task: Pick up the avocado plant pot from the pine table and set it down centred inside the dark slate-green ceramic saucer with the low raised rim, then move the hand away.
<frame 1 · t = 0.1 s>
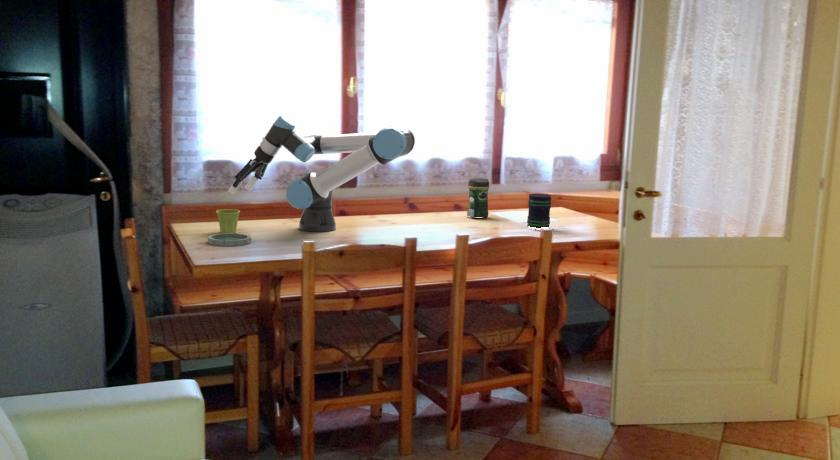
hand: (239, 191, 330), 15 cm above the table, tool tilted 35°, fingers open, 13 cm apart
storage jar: (538, 229, 356), on the table
saucer: (229, 242, 304), on the table
plant pot: (228, 233, 323), on the table
coffee jar: (477, 218, 381), on the table
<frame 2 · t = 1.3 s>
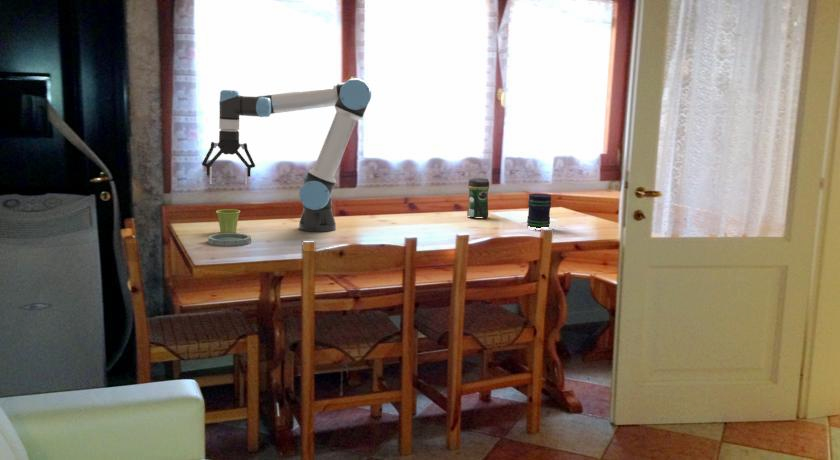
hand: (228, 184, 320), 19 cm above the table, tool pointing down, fingers open, 13 cm apart
nothing on the table moved.
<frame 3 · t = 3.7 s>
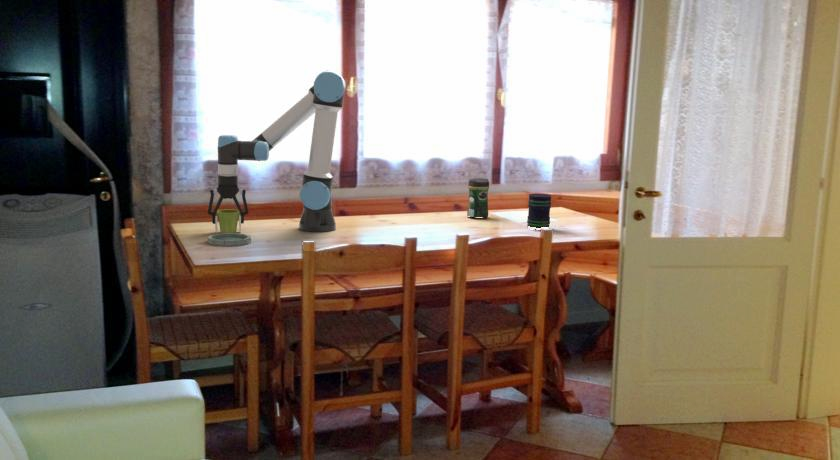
hand: (228, 231, 323), 0 cm above the table, tool pointing down, fingers closed on plant pot, 8 cm apart
plant pot: (228, 233, 323), on the table, touching gripper
everything else where it was.
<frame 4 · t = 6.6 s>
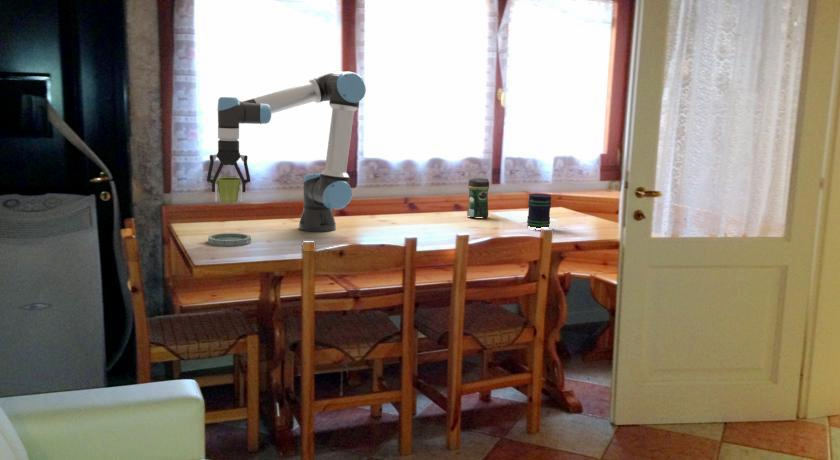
hand: (228, 200, 302), 15 cm above the table, tool pointing down, fingers closed on plant pot, 8 cm apart
plant pot: (228, 202, 302), point 15 cm above the table, touching gripper
everything else where it was.
when the fingers open (3 cm above the table, at t = 9.8 s): plant pot drops 2 cm, resting on saucer.
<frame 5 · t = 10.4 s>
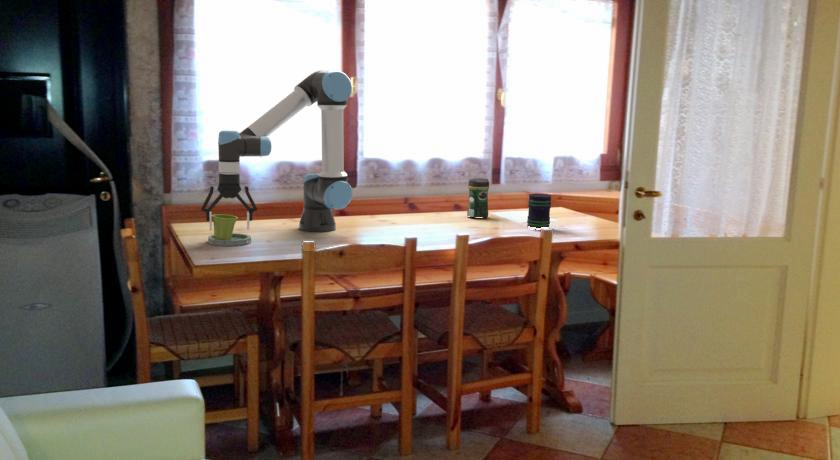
hand: (229, 229, 303), 5 cm above the table, tool pointing down, fingers open, 13 cm apart
plant pot: (222, 239, 303), point 1 cm above the table, touching gripper, saucer
everything else where it was.
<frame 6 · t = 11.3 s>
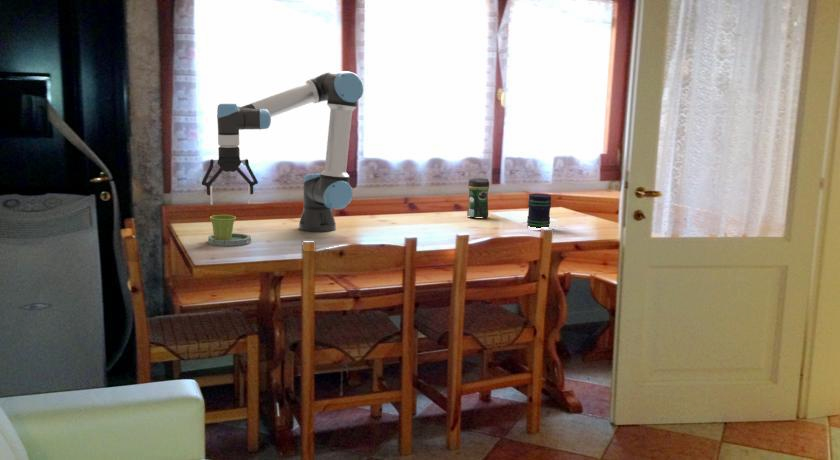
hand: (230, 203, 302), 15 cm above the table, tool pointing down, fingers open, 13 cm apart
plant pot: (222, 240, 303), point 1 cm above the table, touching saucer
everything else where it was.
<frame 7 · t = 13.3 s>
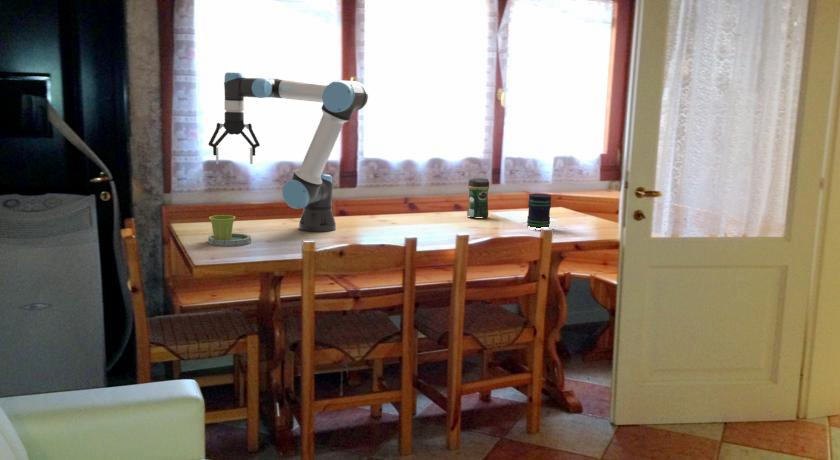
hand: (234, 163, 332), 26 cm above the table, tool pointing down, fingers open, 13 cm apart
nothing on the table moved.
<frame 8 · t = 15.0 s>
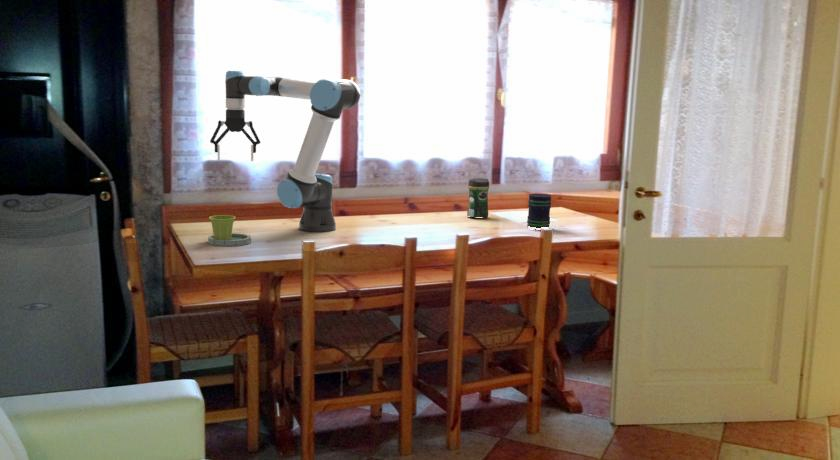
hand: (235, 160, 338), 27 cm above the table, tool pointing down, fingers open, 13 cm apart
nothing on the table moved.
at the end: plant pot 2.6 cm off-centre on the saucer, point 0.6 cm above the saucer's base; plant pot tilted 0°; the gripper is holding nothing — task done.
